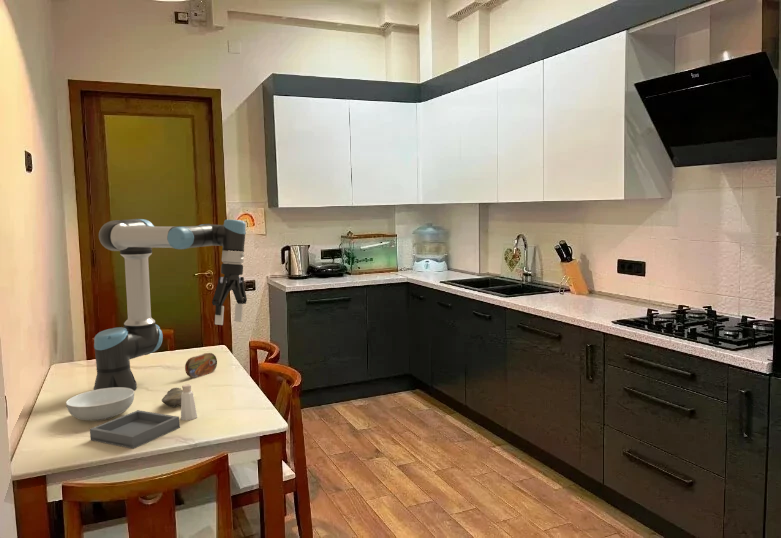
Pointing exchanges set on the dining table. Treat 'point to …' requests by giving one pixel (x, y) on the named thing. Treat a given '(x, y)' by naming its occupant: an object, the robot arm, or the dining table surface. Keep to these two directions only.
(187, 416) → the salt shaker
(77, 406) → the serving bowl
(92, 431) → the parts tray
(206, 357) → the tin
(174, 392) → the fossilized seashell
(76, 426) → the dining table surface
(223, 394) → the dining table surface
